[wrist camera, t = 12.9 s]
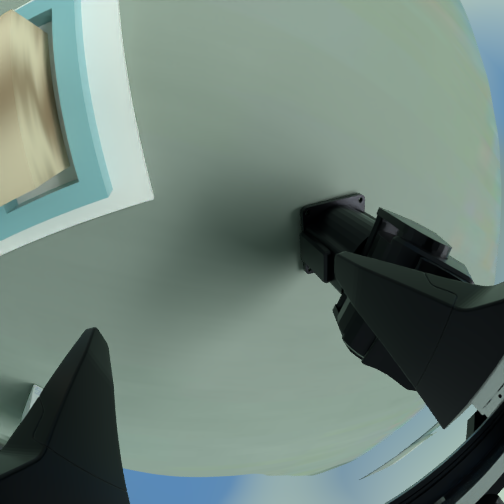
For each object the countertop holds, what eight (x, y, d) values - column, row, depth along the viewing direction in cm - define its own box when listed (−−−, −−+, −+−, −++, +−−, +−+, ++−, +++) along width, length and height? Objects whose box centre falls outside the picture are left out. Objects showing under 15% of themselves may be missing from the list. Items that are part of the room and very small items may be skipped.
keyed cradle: (117, -28, 10) (113, -46, 7) (154, 195, 19) (153, 208, 16) (-38, 52, 7) (-57, 49, 4) (3, 250, 16) (-12, 269, 13)
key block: (70, 166, 15) (35, 188, 10) (24, 186, 14) (-18, 216, 9) (47, 33, 10) (11, 9, 5) (1, 60, 9) (-44, 49, 4)
